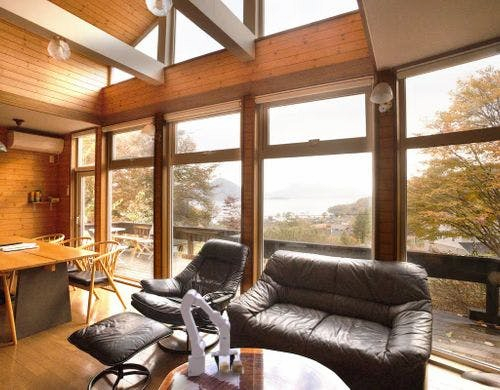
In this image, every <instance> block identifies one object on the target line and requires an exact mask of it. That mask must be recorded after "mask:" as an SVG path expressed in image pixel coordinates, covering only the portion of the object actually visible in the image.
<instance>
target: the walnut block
mask: <svg viewBox="0 0 500 390" xmlns="http://www.w3.org/2000/svg"><path fill="white" fill-rule="evenodd" d="M242 367H243V363H242V360H234V361H233V364H232V367H231V368H232V370H233V373H241V372H242Z"/></svg>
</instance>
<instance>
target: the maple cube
mask: <svg viewBox="0 0 500 390" xmlns="http://www.w3.org/2000/svg"><path fill="white" fill-rule="evenodd" d="M219 371H220V374H221V375H222V374H229V373H230V362H229V361H228V360H226V361H219Z"/></svg>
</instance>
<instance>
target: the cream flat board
mask: <svg viewBox="0 0 500 390" xmlns="http://www.w3.org/2000/svg"><path fill="white" fill-rule="evenodd" d="M230 374H231V375H240V374H241V375H242V374H245V371H244V367H243V366H242V372H241V373H233V370H232V367H231V370H230Z"/></svg>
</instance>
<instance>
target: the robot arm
mask: <svg viewBox="0 0 500 390" xmlns="http://www.w3.org/2000/svg"><path fill="white" fill-rule="evenodd" d="M192 306H197V307H198V306H199V307H200V308H201V309H202V310H203V311H204V312H205V313H206V314H207V315H208V317H209V320H210V321H211V322H212V324H214V326H215V327H217V328H218V332H219V345H218V346H219V348H218V350H216V351H213V352H212V351H211V353H210V357H211V358H214V359H213V360H214V361H215V363H216V366H217V371H218V372H219V371H220V357H228V356H229V371H231V368H232V364H233V361H235V358H236V356H238V355H239V352H238V350H236V349H231V346H230V345H231V335H230V332H231V331H230V330H231V323H230V321H229V320H228V319H226V318H224V317H223V316H222V314H221V312H220V311H217V310H214V309H213V308H212V307H211V306H210V305H209V303H208V302H207V301H206V300H205V299H204V297H202V295H201V294H200V293H199V292H197V290H196V289H193V288H191V289H189V290H188V291H187V292H186V293H185V295H183V297H182V299H181V302H180V308H179V311H180V313H181V317H182V320H183V322H184V325H185V328H186V331H187V333H188V337H189V339H190V348H191V355H188V361H187V363H188V364H187V365H188V366H187V371H188V372H187V376H188V377H193V376H194V377H196V376H198V377H199V376H201V374H204V373H205V372H206V352H205V348H206V341H205V340H204V339H203V337H202V336H201V335H200V333H199V330H198V328H197V325H196V323H195V320H194V317H193V314H192V311H191V307H192Z"/></svg>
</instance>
